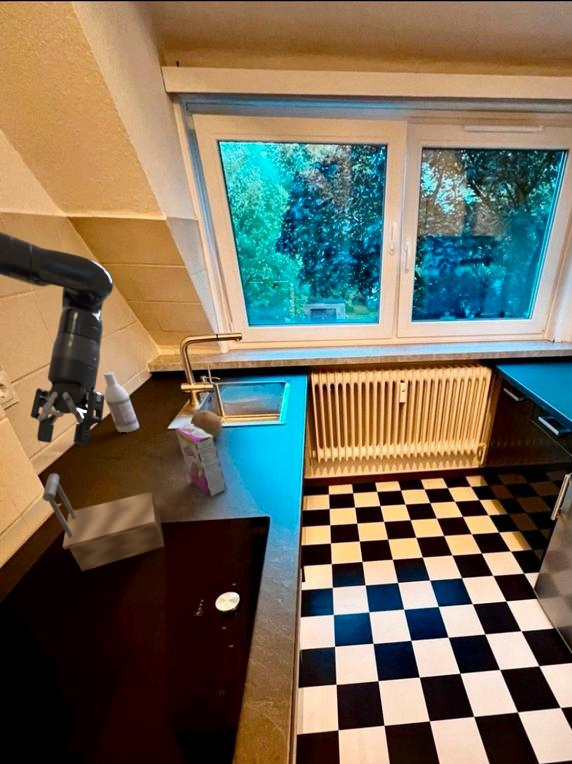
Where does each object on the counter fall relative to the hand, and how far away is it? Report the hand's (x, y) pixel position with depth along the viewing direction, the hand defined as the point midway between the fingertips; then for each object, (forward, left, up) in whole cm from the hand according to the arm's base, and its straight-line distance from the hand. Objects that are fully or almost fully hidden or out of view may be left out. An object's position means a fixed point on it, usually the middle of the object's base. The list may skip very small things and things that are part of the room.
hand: (61, 443), depth 75 cm
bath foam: (+30, +55, -24) cm, 67 cm away
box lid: (+1, -4, -18) cm, 18 cm away
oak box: (+2, -4, -24) cm, 25 cm away
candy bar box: (+26, 0, -24) cm, 36 cm away
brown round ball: (+43, +25, -24) cm, 56 cm away
